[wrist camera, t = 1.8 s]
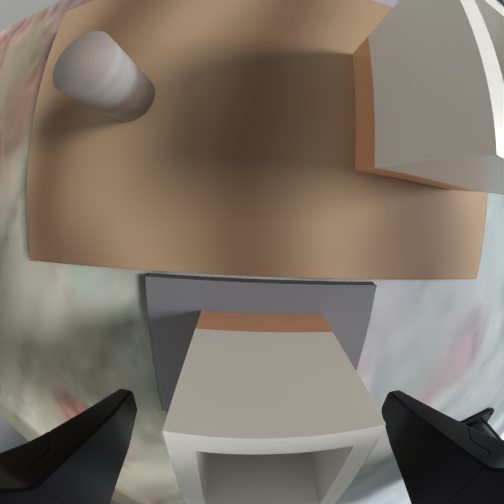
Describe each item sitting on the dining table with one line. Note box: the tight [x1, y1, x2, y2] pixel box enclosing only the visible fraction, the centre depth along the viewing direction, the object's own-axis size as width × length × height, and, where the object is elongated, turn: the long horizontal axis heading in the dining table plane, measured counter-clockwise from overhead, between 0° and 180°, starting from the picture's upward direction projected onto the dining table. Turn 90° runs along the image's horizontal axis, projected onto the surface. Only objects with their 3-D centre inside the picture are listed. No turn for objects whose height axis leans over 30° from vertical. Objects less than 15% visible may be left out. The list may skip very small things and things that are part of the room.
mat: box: [145, 273, 376, 411], centre depth 11 cm, size 9×7×1 cm
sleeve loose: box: [162, 310, 386, 504], centre depth 8 cm, size 5×5×6 cm
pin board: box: [26, 0, 488, 279], centre depth 7 cm, size 20×12×5 cm, turn 87°
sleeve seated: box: [353, 0, 504, 194], centre depth 5 cm, size 5×5×6 cm
